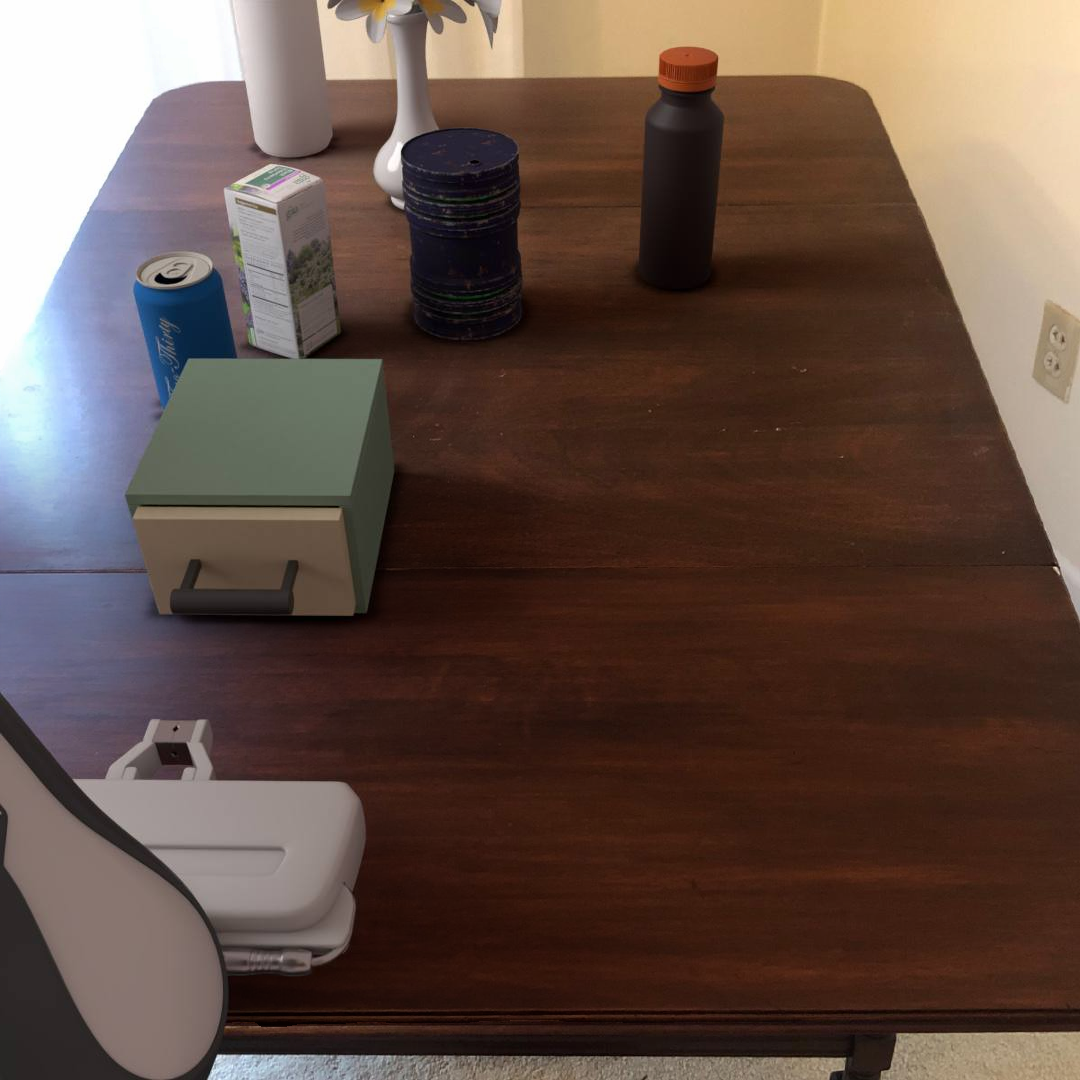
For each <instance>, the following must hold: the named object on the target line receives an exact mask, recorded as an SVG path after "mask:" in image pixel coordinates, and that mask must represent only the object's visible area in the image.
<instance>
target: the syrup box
mask: <svg viewBox="0 0 1080 1080" xmlns="http://www.w3.org/2000/svg"><path fill="white" fill-rule="evenodd" d="M223 193H224V200H225V205H226V206H225V207H226V211H227V218H228V224H229V230H230V237H231V242H232V249H233V255H234V259H235V265H236V271H237V277H238V283H239V287H240V293H241V300H242V307H243V312H244V319H245V325H246V331H247V337H248V342H249V345H250V346H252V347H256V348H258V349H261V350H264V351H267V352H269V353H272V354H276V355H279V356H282V357H284V358H285V357H286V358H287V359H307V357H308V356H310V355H312V354H313V353H314V352H316V351H318V350H319V349H320V348H321V347H323V346H324V345H326V344H327V343H329V342H330V341H331V340H333V339H334V338H335V337H337V336H339V335H341V333H342V331H341V320H340V319H341V318H340V312H339V304H338V294H337V286H336V275H335V267H334V259H333V258H334V257H333V248H332V239H331V231H330V222H329V213H328V205H327V194H326V186H325V180H324V179H323V178H321V177H320V176H317V175H315V174H313V173H309V172H307V171H304V170H302V169H299V168H295V167H292V166H286V165H281V164H275V163H269V164H268V165H265V166H264V167H262V168H259V169H258V170H256V171H254V172H252V173H250V174H248V175H247V176H244V177H243V178H241V179H239V180H237V181H235V182H233V183H232V184H229V185H228V186H225V187H224V188H223Z"/></svg>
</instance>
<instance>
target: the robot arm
mask: <svg viewBox="0 0 1080 1080" xmlns="http://www.w3.org/2000/svg"><path fill="white" fill-rule="evenodd" d="M213 743H214V733H213V730H212V726H211V722H210V720H209V719H206V718H205V719H200V718H197V719H196V718H195V719H192V718H191V719H190V718H189V719H182V718H180V719H172V718H171V719H170V718H151V719H150V721H149V723H148V725H147V728H146V731H145V734H144V735H143V739H142V741H139V742H138V743H137V744H135V745H134V746H133V747H132V748H131V749H129V750H127V752H125V754H123V755H122V756H120V757H119V758H118V759H117V760H115V761H114V762H113V763H112V764H111V765H110V766H109V767H108V771H107V772H106V776H105V778H72V777H71V776H70V775H69V773H68V772H67V771H66V770H65V769H64V768H63V766H62V765H61V764H60V762H58V760H57V759H56V758H55V757H54V756H53V754H52V753H51V752H50V750H48V748H47V747H46V745H44V743H43V742H42V741H41V740H40V739H39V737H38V736H37V735H36V734H35V733H34V731H33V730H32V729H31V728H30V726H29V725H28V724H27V723H26V722H25V720H24V719H23V718H22V717H21V716H20V714H19V713H18V712H17V710H15V708H14V707H13V706H12V705H11V703H10V702H9V701H8V700H7V699H6V697H5V695H3V693H2V692H0V1080H208V1079H209V1077H210V1075H211V1073H212V1070H213V1068H214V1065H215V1062H216V1059H217V1057H218V1054H219V1051H220V1048H221V1044H222V1041H223V1038H224V1033H225V1029H226V1025H227V1019H228V1013H229V999H230V997H229V996H230V995H229V994H230V993H229V990H230V989H229V978H228V976H231V977H232V976H235V977H236V976H237V977H238V976H240V977H241V976H242V977H244V976H245V977H246V976H257V975H264V974H265V975H267V974H269V975H271V974H272V975H280V976H282V977H303V976H308V975H312V974H313V972H314V969H315V968H316V967H317V968H318V967H321V966H324V965H328V964H329V963H332V962H333V961H335V960H336V959H337V958H339V957H340V956H341V955H343V954H344V953H345V952H346V951H347V949H348V948H349V947H350V943H351V941H352V938H353V936H354V935H353V934H354V929H355V924H356V923H355V922H356V916H357V901H356V897H355V895H354V893H353V890H354V888H355V885H356V881H357V878H358V875H359V871H360V868H361V864H362V861H363V860H362V859H363V856H364V851H365V846H366V842H367V841H366V840H367V825H366V820H365V819H366V818H365V811H364V807H363V804H362V801H361V799H360V797H359V796H358V795H357V793H356V792H355V791H354V790H353V788H352V787H351V786H350V785H349V784H348V783H347V782H344V781H335V780H334V781H332V780H331V781H329V780H328V781H326V780H325V781H323V780H321V781H319V780H313V781H312V780H229V779H227V780H224V779H223V780H222V779H221V780H220V779H219V780H218V779H217V777H216V772H215V769H214V766H213V763H212V762H211V760H210V755H211V751H212V747H213V745H214V744H213ZM163 766H187V767H186V768H184V769H183V772H182V776H181V778H180V779H151V778H152V777H153V776H154V775H155V774H156V773H158V771H159V770H160V769H161V768H162V767H163ZM189 766H190V767H189ZM192 766H193V767H192Z"/></svg>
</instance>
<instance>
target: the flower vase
mask: <svg viewBox="0 0 1080 1080" xmlns="http://www.w3.org/2000/svg"><path fill="white" fill-rule="evenodd" d="M463 1H464V2H465V3H466V4H468V5H469V6H470V7H472V8H473V7H475V6H476V5H477V7H478V9H479V11H480V15H481V17H482V20H483V22H484V23H483V24H484V26H485V28H486V32H487V36H488V41H489V44H490V48H491V50H493V45H494V34H496V33H497V29H498V23H499V15H500V12H501V8H502V0H463ZM326 8H327V9H328V10H331V9H333V8H335V10H334V15H335V17H336V19H338V20H340V21H342V22H343V21H344V22H350V21H354V20H357V19H361V18H363V17H365V16H366V18H365V32H366V35H367V38H368V39H369V41H370V42H371V43H372V44H379V43H380V42H381V41H382V40H383V38H384V36H385V32H386V28H387V25H388V28H389V32H390V36H391V40H392V46H393V51H394V58H395V73H396V75H395V76H396V94H397V96H396V97H397V98H396V99H397V102H396V103H397V107H396V108H397V109H396V119H395V123H394V126H393V130H392V132H391V134H390V136H389V138H387V140H386V141H385V143H384V144H383V145H382V146H381V148H380V149H379V150H378V152H377V154H376V156H375V159H374V162H373V163H374V164H373V170H372V174H373V177H374V180H375V182H376V184H377V186H378V187H379V188H380V189H381V190H382V191H383V192H385V193H386V194H387V195H388V196H390V199H391V202H392V204H393V205H394V206H395V207H396V208H397V209H400V210H401V211H402V210H403V211H404V204H405V200H404V198H403V190H402V180H403V175H402V167H403V166H402V163H401V148H402V146H403V145H404V144H405V143H406V142H407V141H409V140H410V139H412V138H414V137H416V136H418V135H420V134H423V133H427V132H430V131H435V130H440V127H439V125H438V124H437V121H436V118H435V115H434V113H433V109H432V108H433V107H432V103H431V96H430V88H429V79H428V78H429V77H428V70H427V69H428V68H427V52H426V51H427V33H428V25H430V27H431V29H432V30H433V32H434V33H435V34H437V35H439V36H440V35H442V34H443V32H444V30H445V29H444V28H445V24H444V20H443V18H442V17H444V18H446V19H449V20H450V21H452V22H454V23H457V24H462V25H463V24H466V23H467V21H468V18H467V14H466V12H465V11H464V9H463V8H462V6H460V5H459V4H458V3H456V2H455V1H454V0H327V5H326Z"/></svg>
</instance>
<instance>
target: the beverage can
mask: <svg viewBox="0 0 1080 1080" xmlns="http://www.w3.org/2000/svg"><path fill="white" fill-rule="evenodd" d="M135 278H136V279H135V281H134V284H133V287H132V288H133V289H132V290H133V291H132V293H133V295H134V296H133V297H134V300H135V304H136V309H137V312H138V317H139V321H140V324H141V328H142V333H143V337H144V341H145V345H146V348H147V349H146V350H147V353H148V357H149V362H150V365H151V369H152V373H153V377H154V381H155V385H156V389H157V393H158V397H159V401H160V406H161V408H162V409H163V411H164V410H165V407H166V405H167V403H168V401H169V399H170V397H171V395H172V393H173V390H174V388H175V386H176V384H177V382H178V380H179V378H180V375H181V373H182V371H183V369H184V367H185V365H186V363H187V361H188V359H238V355H237V350H236V345H235V339H234V335H233V329H232V323H231V319H230V314H229V313H230V312H229V308H228V303H227V298H226V294H225V293H226V292H225V287H224V283H223V278H222V276H221V274H220V273H219V270H217V269H216V268H215V267H214V264H213V261H212V259H211V258H210V257H208V256H207V255H206V254H202V253H200V252H194V251H172V252H166V253H162V254H158V255H155V256H152V257H150V258H149V259H146V260H145V261H143V262H142V263H141V264H140V265H138V267H136V270H135Z"/></svg>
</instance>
